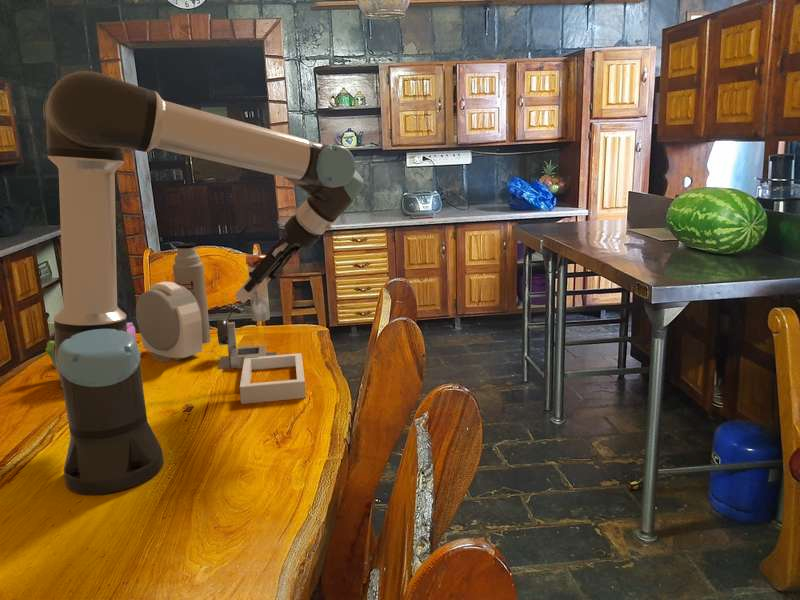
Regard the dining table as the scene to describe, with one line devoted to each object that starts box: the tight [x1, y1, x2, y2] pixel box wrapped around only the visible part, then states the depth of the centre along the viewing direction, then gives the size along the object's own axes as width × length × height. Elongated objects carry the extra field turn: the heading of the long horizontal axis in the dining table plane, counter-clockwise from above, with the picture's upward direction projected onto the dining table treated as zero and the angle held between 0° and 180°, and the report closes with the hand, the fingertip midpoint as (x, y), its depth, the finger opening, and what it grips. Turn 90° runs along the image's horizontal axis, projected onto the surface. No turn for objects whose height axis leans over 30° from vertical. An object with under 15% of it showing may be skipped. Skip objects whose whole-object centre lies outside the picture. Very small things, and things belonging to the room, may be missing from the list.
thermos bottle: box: [172, 242, 211, 345], centre depth 173 cm, size 8×8×28 cm
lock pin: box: [245, 253, 271, 322], centre depth 140 cm, size 5×5×15 cm
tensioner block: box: [216, 318, 277, 370], centre depth 155 cm, size 13×14×11 cm
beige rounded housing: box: [135, 281, 203, 363], centre depth 159 cm, size 18×8×20 cm, turn 58°
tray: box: [239, 352, 307, 405], centre depth 142 cm, size 20×14×4 cm
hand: (244, 296), depth 142 cm, fingers closed on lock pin, 4 cm apart
